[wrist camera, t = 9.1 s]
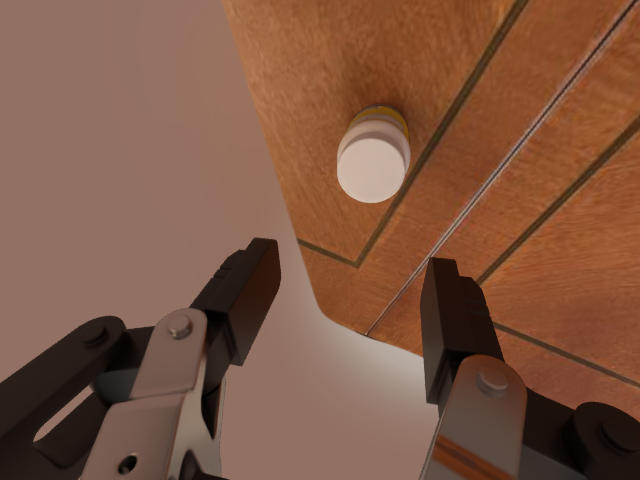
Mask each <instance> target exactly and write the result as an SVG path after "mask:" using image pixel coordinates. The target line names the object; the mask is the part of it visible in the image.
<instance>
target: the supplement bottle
mask: <svg viewBox="0 0 640 480" xmlns="http://www.w3.org/2000/svg"><path fill="white" fill-rule="evenodd" d="M410 157H411V152H410V141H409V133H408V126H407V123H406V121H405V119H404V117H403V115H402V114H401V113H400V112H399V111H398V110H397V109H395V108H393V107H391V106H389V105H385V104H375V105H370V106H368V107H366V108H364V109H362V110H361V111H360V112H358V113H357V114H356V116H355V117H354V118H353V120H352V121H351V123H350V125H349V127H348V129H347V131H346V133H345V135H344V136H343V138H342V140H341V143H340V145H339V148H338V153H337V177H338V180H339V183H340V185H341V187H342V188H343V190H344V191H345V192H346V193H347V194H348V195H349V196H350V197H352V198H354V199H356V200H358V201H361V202H365V203H376V202H381V201H384V200H386V199H388V198H390V197H391V196H392V195H394V194H395V193H396V192H397V191H398V189H399V188H400V186H401V185H402V183H403V180H404V176H405V174H406V172H407V170H408V167H409V164H410Z"/></svg>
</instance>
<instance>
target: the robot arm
mask: <svg viewBox="0 0 640 480" xmlns="http://www.w3.org/2000/svg"><path fill="white" fill-rule="evenodd" d="M280 281H281V269H280V260H279V251H278V243H277V241H276V240H273V239H265V238H254V239H253V240H252V241H251V243H250V244H249V245H248V247H247V248H246V250H238V251H237V252H235V253H233V254H232V255H231V256H229V257H227V259H226V260H225V261H224V263H223V264H222V265H221V266H220V269H218V270H217V272H216V273H215V274H214V277H213V278H211V279H210V281H209V282H208V283H207V285H206V286H205V287H204V289H203V290H202V291H201V292H200V294H199V295H198V297H197V298H196V299H195V300H194V302H193V303H192V304H191V305H190V307H189V308H185V309H180V310H176V311H174V312H172V313H170V314H168V315H166V316H165V317H164V318H162V319H161V320H160V321H159V322H158V323H157V325H156V326H152V327H143V328H134V329H127V328H126V326H125V324H124V323H123V321H122V320H121V319H120V318H118V317H115V316H103V317H99V318H96V319H92V320H90V321H88V322H86V323H84V324H83V325H81V326H79V327H78V328H77V329H75V330H74V331H72V332H71V333H69V334H68V335H67V336H65V337H64V338H62V339H61V340H60V341H58V342H57V343H56V344H54V345H53V346H51V347H50V348H49V349H47V350H46V351H44V352H43V353H42V354H40V355H39V356H37V357H36V358H35V359H33V360H32V361H30V362H29V363H28V364H26V365H25V366H23V367H22V368H21V369H19V370H18V371H16V372H15V373H14V374H12V375H11V376H10V377H8V378H7V379H6V380H4V381H3V382H1V383H0V480H78V479H79V477H80V476H81V478H80V480H229V479H225V478H221V458H220V436H221V426H222V415H223V405H224V395H225V385H226V379H225V372H226V371H227V369H228V367H229V365H230V364H232V365H237V366H242V365H243V363H244V361H245V359H246V357H247V355H248V353H249V350H250V349H251V346H252V344H253V342H254V340H255V338H256V336H257V334H258V332H259V330H260V327H261V325H262V323H263V321H264V319H265V317H266V315H267V313H268V311H269V309H270V306H271V304H272V302H273V300H274V298H275V296H276V294H277V292H278V289H279V286H280ZM420 314H421V329H422V343H423V358H424V371H425V387H426V401H427V403H430V404H436V405H438V411H439V421H438V424H437V426H436V429H435V432H434V435H433V438H432V441H431V444H430V447H429V450H428V453H427V456H426V459H425V462H424V465H423V468H422V471H421V474H420V477H419V480H640V422H638V421H637V420H636V419H634V418H633V417H631V416H630V415H628V414H627V413H625V412H623V411H621V410H620V409H617V408H615V407H613V406H610V405H607V404H604V403H599V402H586V403H583V404H581V405H579V406H578V407H577V408H576V410H574V409H571V408H569V407H567V406H564V405H562V404H560V403H558V402H555V401H553V400H551V399H548V398H546V397H544V396H542V395H540V394H538V393H536V392H534V391H532V390H531V389H529V388H528V387H526V386H525V384H524V382H523V380H522V379H521V377H520V376H519V375H518V373H517V372H516V371H515V370H514V369H513V368H511V367H510V366H509V365H507V364H506V363H505V361H504V358H503V355H502V352H501V348H500V345H499V342H498V339H497V336H496V332H495V329H494V326H493V323H492V320H491V317H490V316H489V314H490V313H489V310H488V307H487V305H486V301H485V297H484V294H483V291H482V289H481V288H480V287H479V286H478V284H477V283H476V282H475V281H474V280H473V279H472V278H471V277H464V276H459V273H458V269H457V264H456V261H455V260H454V259H445V258H436V257H430V259H429V262H428V266H427V270H426V275H425V279H424V284H423V288H422V293H421V302H420ZM88 385H89V387H90V388H91V389H92V391H93V393H92V394H91V395H90V396H88V397H87V398H86V399H85V400H84V401H83V402H82V403H81V404H80V405H78V406H77V407H76V408H75V409H74V410H73V411H72V412H71V413H70V414H69V415H67V416H66V418H64V419H63V420H62V421H61V422H60V423H59V424H58V425H56V426H55V427H54V428H53V429H52V430H51V431H50V432H49V433H48V434H47V435H45V436H44V437H43V438H41V439H40V440H38V441H36V442H33V440H34V437H35V435H36V433H37V432H38V430H39V429H40V428H41V427H42V426H43V425H44V424H45V423H46V422H47V421H48V420H49V419H51V418H52V417H53V416H54V415H55V414H56V413H57V412H58V411H60V410H61V409H62V408H63V407H64V406H65V405H66V404H68V403H69V402H70V401H71V400H72V399H73V398H74V397H75V396H77V395H78V394H79V393H80V392H81V391H82V390H84V389H85V388H86V387H87V386H88Z"/></svg>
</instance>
